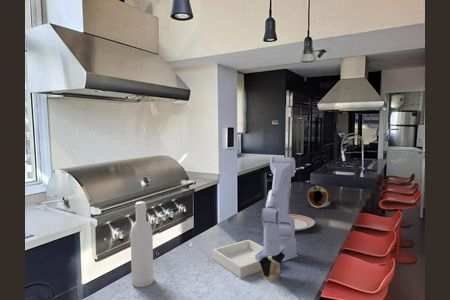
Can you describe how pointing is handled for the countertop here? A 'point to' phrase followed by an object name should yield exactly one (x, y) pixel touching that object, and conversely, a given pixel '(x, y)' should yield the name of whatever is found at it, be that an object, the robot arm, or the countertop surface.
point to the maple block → (273, 271)
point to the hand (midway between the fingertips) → (271, 273)
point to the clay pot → (320, 196)
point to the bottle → (141, 248)
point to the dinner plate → (302, 222)
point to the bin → (239, 258)
